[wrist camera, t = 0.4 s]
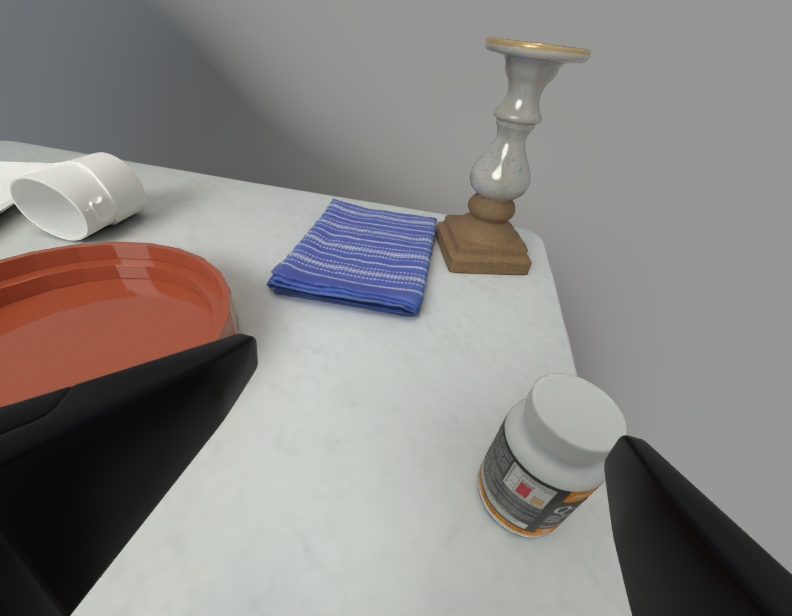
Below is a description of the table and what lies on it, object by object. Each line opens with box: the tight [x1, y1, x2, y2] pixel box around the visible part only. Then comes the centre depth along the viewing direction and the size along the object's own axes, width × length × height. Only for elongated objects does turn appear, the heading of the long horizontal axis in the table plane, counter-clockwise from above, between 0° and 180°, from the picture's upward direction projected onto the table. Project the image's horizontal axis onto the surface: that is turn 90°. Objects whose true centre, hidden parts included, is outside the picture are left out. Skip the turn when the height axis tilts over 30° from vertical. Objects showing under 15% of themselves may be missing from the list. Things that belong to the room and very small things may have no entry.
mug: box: [9, 152, 146, 241], centre depth 43 cm, size 12×9×8 cm
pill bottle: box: [478, 374, 627, 537], centre depth 21 cm, size 6×6×10 cm
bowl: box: [0, 242, 238, 407], centre depth 27 cm, size 25×25×4 cm
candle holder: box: [436, 37, 591, 275], centre depth 42 cm, size 11×11×24 cm
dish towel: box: [267, 199, 437, 316], centre depth 45 cm, size 17×24×3 cm
